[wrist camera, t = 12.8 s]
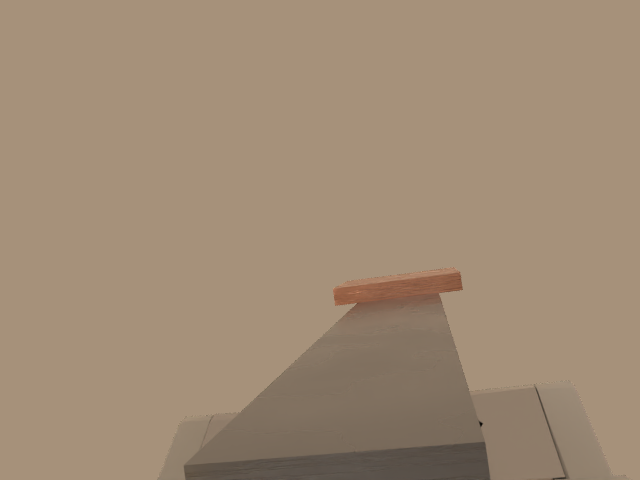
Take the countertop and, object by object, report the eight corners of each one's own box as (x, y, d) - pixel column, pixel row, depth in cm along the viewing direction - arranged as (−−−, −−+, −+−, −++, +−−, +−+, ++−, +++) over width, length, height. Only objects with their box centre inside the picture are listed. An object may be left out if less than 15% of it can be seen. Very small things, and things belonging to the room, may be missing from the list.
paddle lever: (143, 763, 6) (99, 409, 6) (361, 357, 25) (350, 279, 25) (631, 770, 5) (571, 364, 5) (464, 346, 25) (452, 266, 25)
